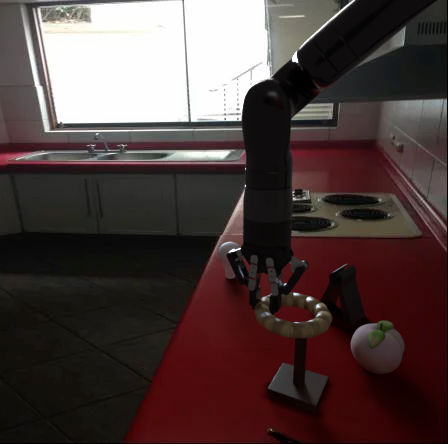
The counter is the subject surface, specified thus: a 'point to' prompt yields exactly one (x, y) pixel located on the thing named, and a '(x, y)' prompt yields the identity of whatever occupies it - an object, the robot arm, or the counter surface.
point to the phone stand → (344, 294)
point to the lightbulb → (223, 257)
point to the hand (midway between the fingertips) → (264, 309)
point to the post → (298, 381)
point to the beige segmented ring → (294, 328)
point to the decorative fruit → (378, 347)
